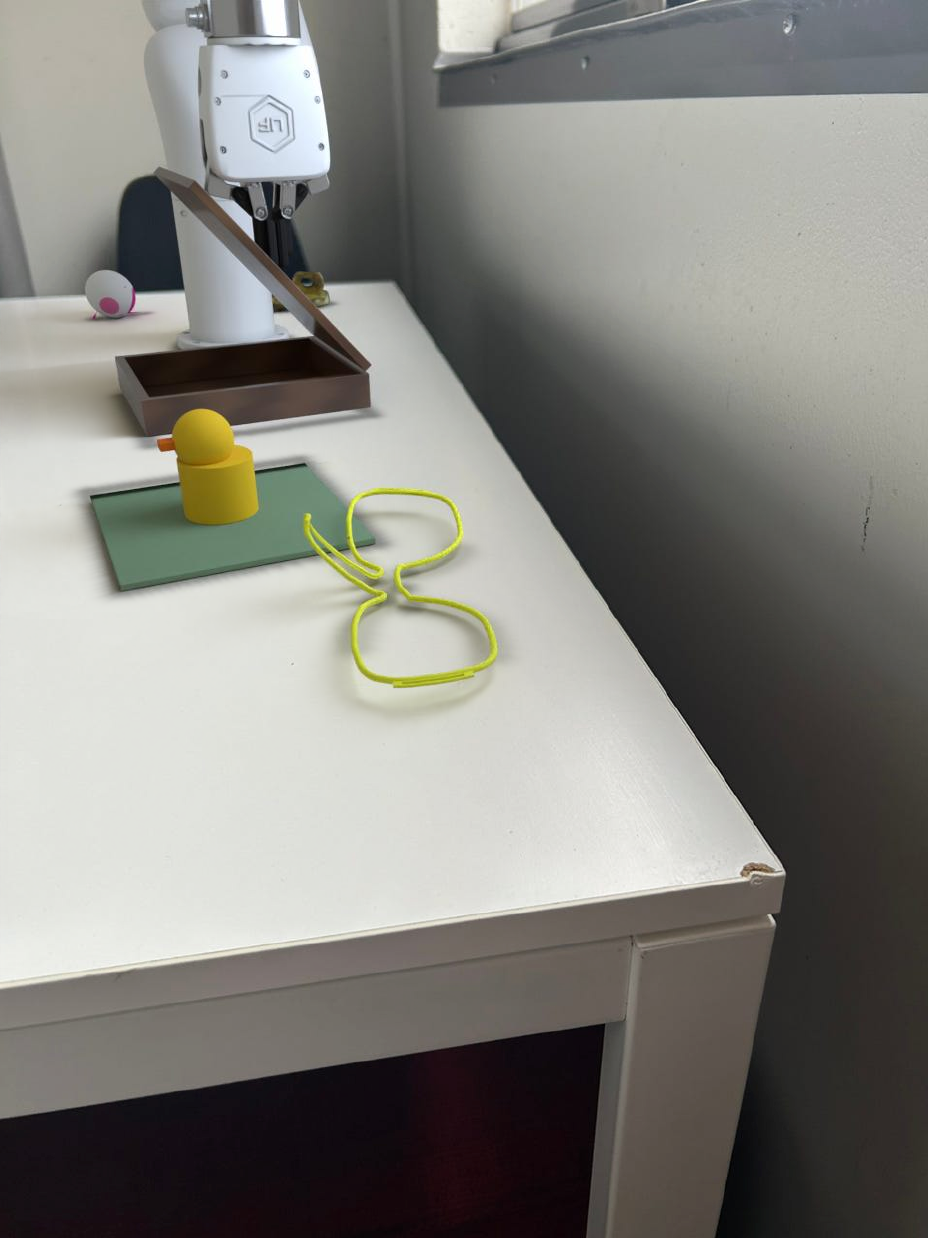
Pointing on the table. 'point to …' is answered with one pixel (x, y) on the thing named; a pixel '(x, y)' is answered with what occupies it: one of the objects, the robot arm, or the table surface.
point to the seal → (307, 290)
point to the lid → (258, 263)
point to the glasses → (399, 681)
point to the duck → (212, 469)
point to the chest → (241, 382)
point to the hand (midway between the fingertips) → (275, 265)
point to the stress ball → (110, 294)
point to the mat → (219, 529)
